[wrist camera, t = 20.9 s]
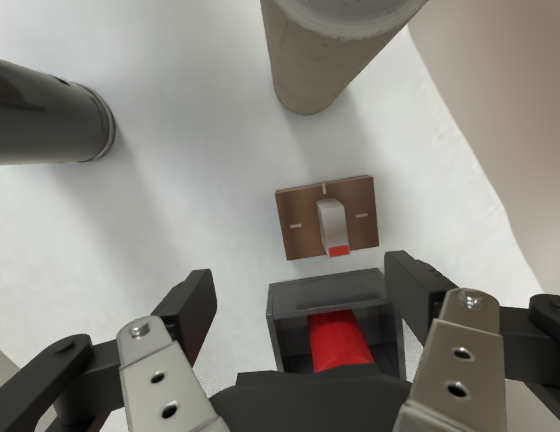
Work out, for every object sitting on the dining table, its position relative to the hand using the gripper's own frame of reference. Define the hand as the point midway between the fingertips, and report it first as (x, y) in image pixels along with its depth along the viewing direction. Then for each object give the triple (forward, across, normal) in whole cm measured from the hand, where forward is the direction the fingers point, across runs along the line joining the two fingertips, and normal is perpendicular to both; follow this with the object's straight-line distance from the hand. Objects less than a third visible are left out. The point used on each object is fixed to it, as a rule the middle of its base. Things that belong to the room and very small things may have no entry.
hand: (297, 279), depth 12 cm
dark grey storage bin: (+23, -4, +18) cm, 30 cm away
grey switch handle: (+21, -5, +3) cm, 21 cm away
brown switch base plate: (+23, -5, +3) cm, 24 cm away
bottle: (+22, -4, +18) cm, 29 cm away
